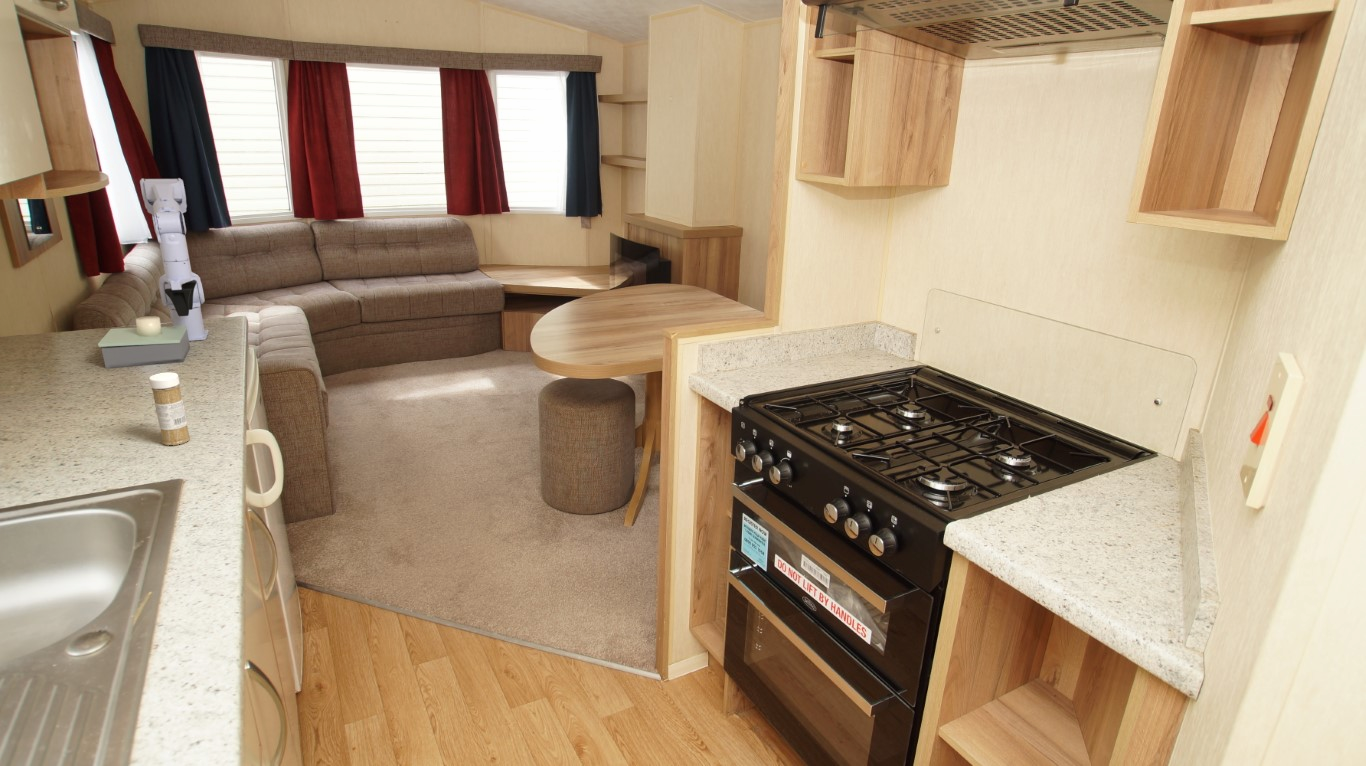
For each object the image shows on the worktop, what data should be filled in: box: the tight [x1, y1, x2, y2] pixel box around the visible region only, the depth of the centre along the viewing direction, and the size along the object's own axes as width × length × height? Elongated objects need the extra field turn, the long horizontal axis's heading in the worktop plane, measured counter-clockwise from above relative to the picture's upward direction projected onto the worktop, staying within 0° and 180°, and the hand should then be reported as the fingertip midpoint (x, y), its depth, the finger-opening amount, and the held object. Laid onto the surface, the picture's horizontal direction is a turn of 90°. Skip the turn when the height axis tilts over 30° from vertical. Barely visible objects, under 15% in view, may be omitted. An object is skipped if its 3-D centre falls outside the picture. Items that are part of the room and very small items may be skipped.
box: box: [101, 330, 191, 369], centre depth 191 cm, size 14×16×5 cm
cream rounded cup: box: [135, 315, 162, 337], centre depth 190 cm, size 5×5×4 cm
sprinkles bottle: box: [148, 371, 191, 446], centre depth 142 cm, size 5×5×14 cm
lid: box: [97, 325, 187, 348], centre depth 190 cm, size 15×16×1 cm
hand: (185, 312), depth 194 cm, fingers open, 7 cm apart
